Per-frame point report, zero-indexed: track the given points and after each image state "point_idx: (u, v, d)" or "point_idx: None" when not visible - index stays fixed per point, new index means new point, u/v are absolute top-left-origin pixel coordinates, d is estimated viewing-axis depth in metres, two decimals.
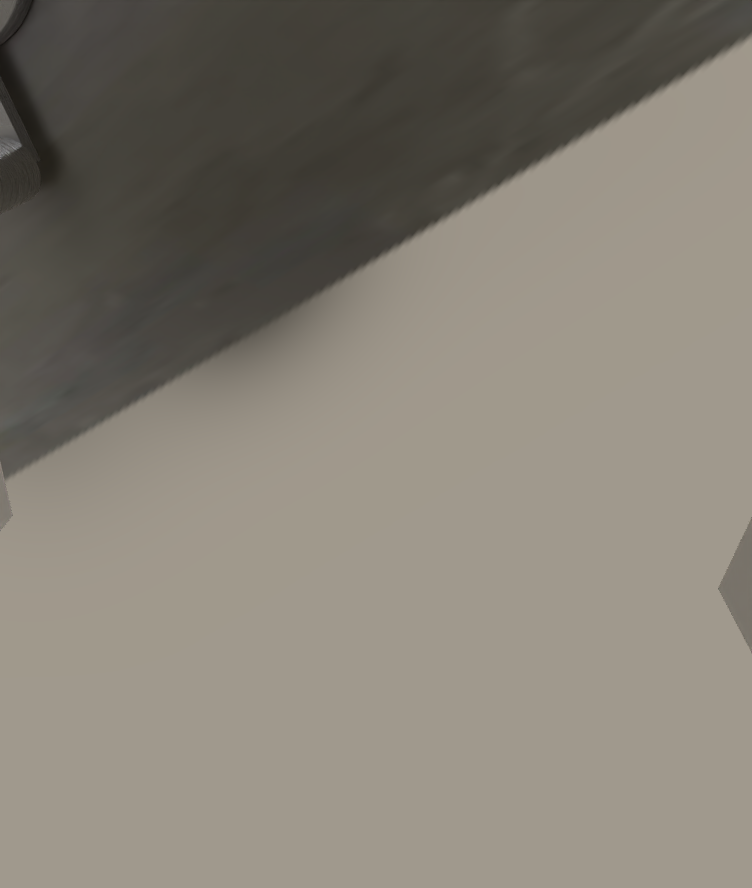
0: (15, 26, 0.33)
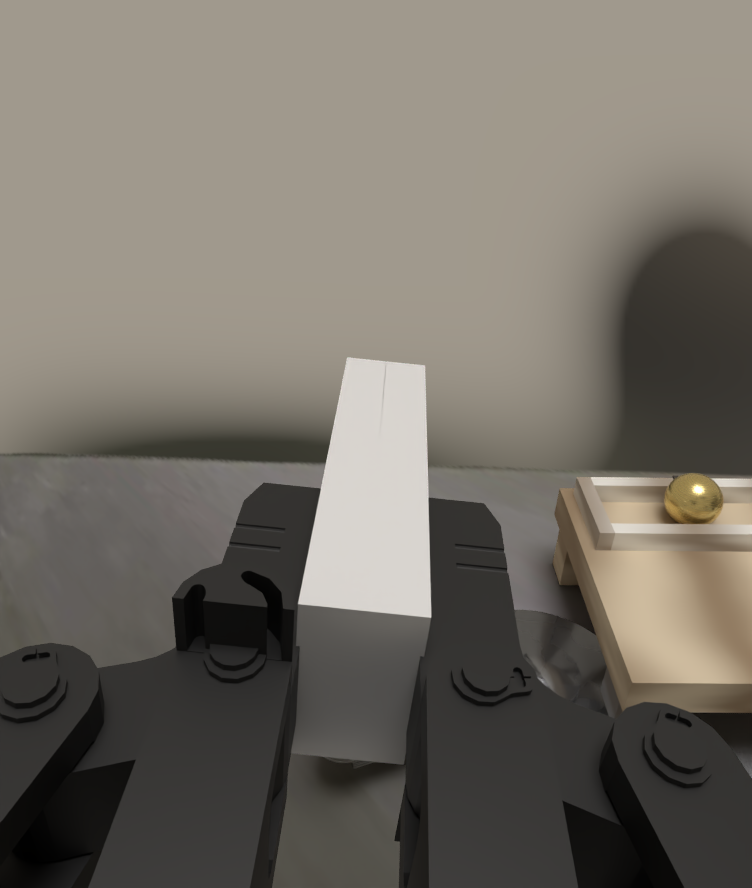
0: None
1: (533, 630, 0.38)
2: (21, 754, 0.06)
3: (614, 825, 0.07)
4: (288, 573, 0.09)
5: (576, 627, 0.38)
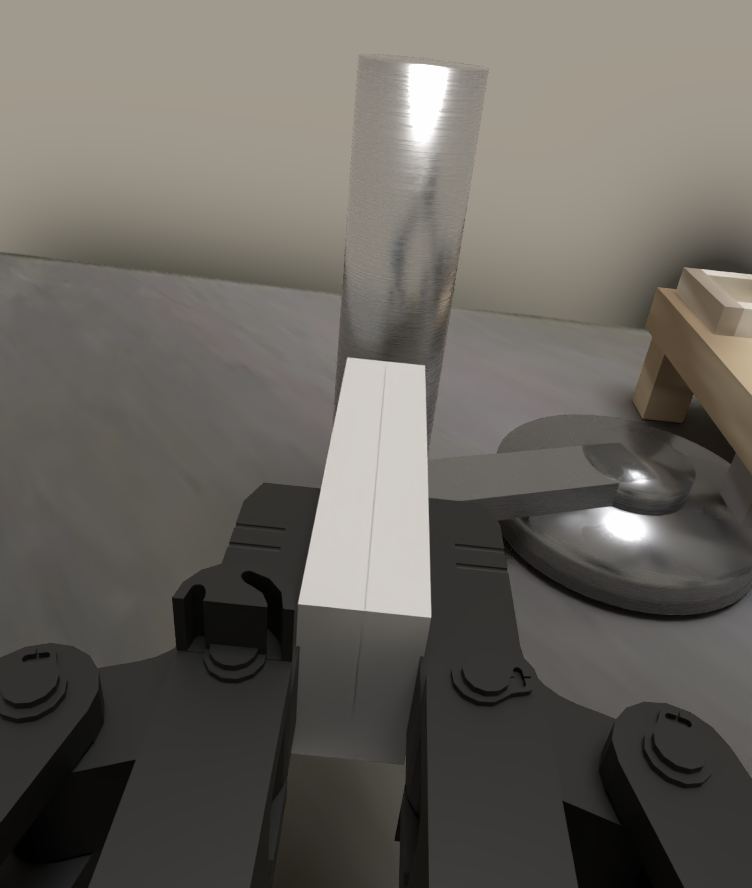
0: (547, 566, 0.23)
1: None
2: (21, 754, 0.06)
3: (615, 825, 0.07)
4: (288, 573, 0.09)
5: (677, 438, 0.29)
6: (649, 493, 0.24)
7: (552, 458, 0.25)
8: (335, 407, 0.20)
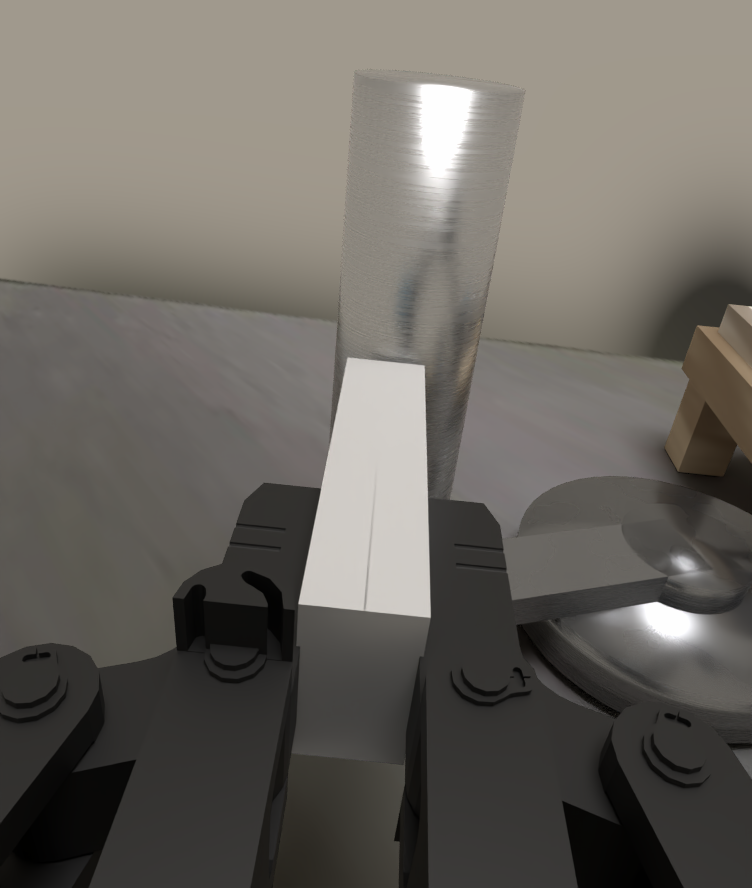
0: (581, 677, 0.20)
1: (662, 502, 0.25)
2: (21, 755, 0.06)
3: (614, 824, 0.07)
4: (288, 573, 0.09)
5: (727, 506, 0.25)
6: (704, 590, 0.20)
7: (586, 542, 0.21)
8: None
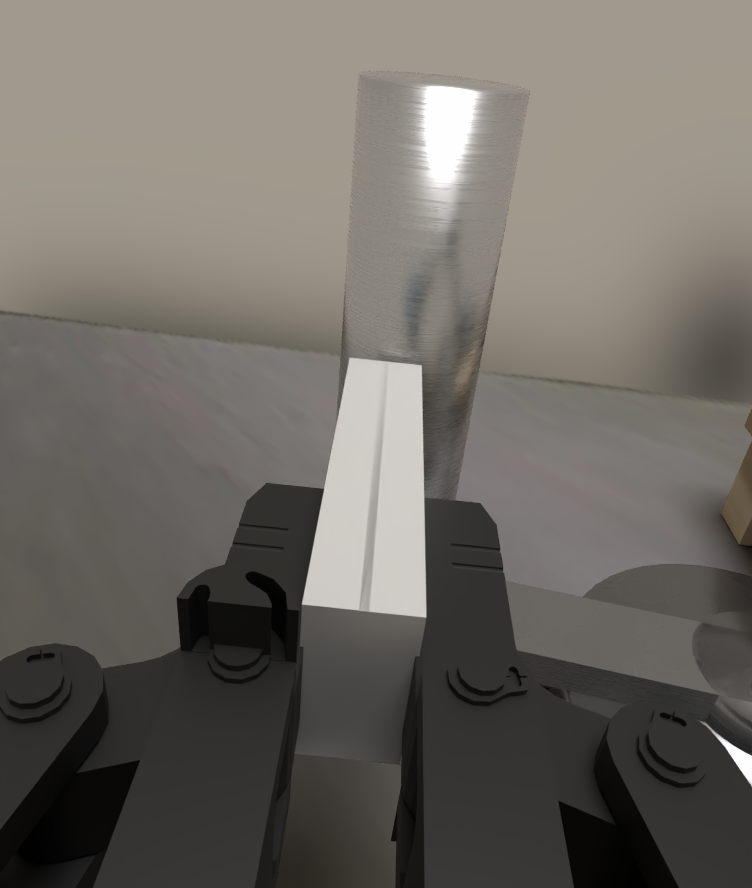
0: None
1: None
2: (25, 755, 0.06)
3: (609, 824, 0.07)
4: (292, 574, 0.09)
5: None
6: None
7: (640, 625, 0.18)
8: None
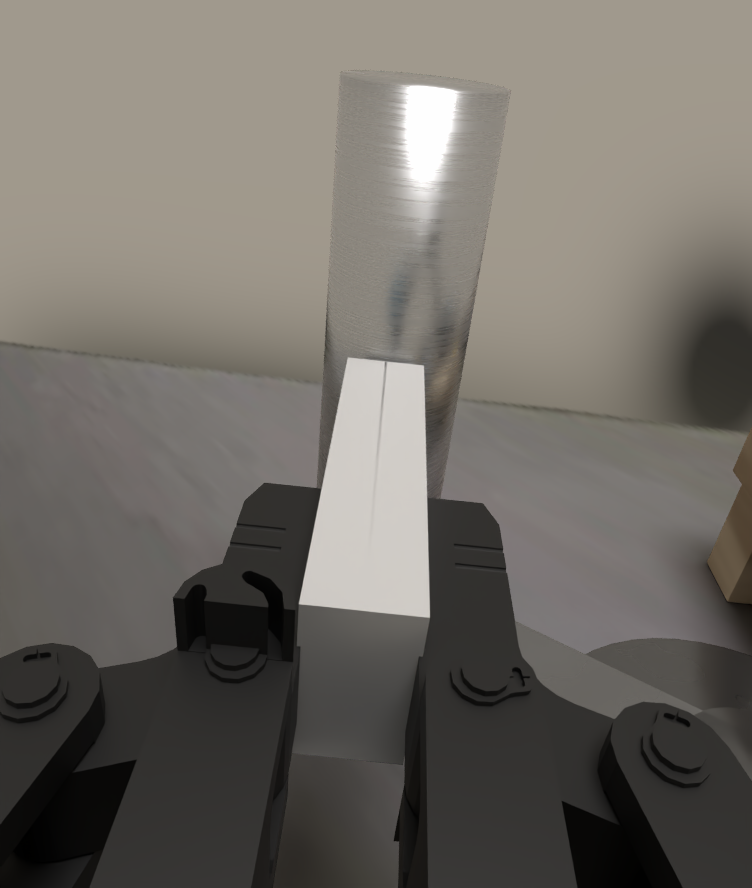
0: None
1: None
2: (21, 754, 0.06)
3: (613, 825, 0.07)
4: (289, 573, 0.09)
5: None
6: None
7: (626, 694, 0.16)
8: None
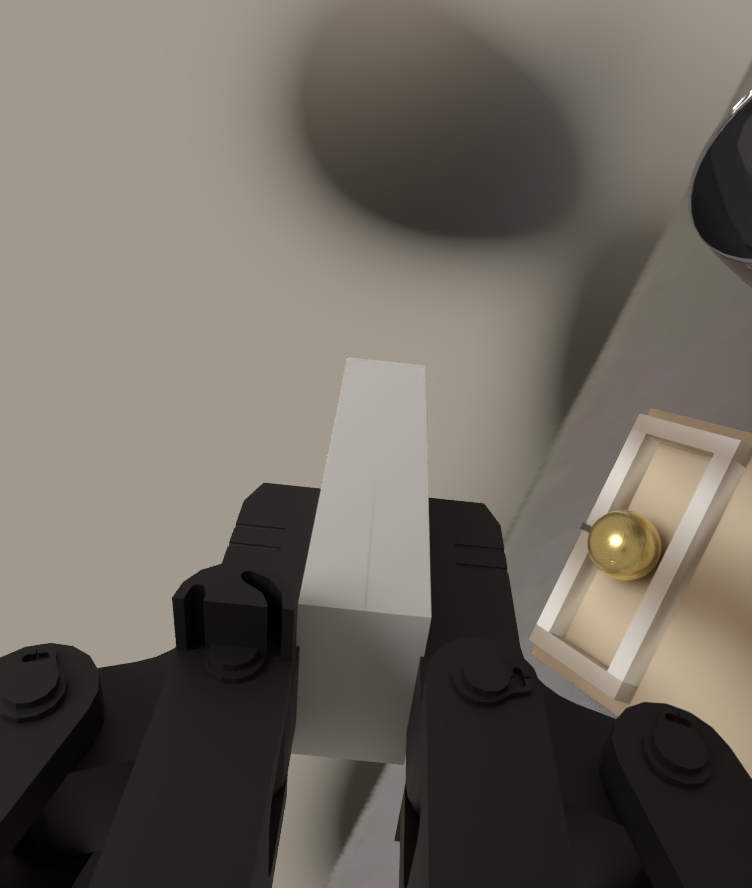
0: None
1: None
2: (20, 754, 0.06)
3: (614, 825, 0.07)
4: (288, 574, 0.09)
5: None
6: None
7: None
8: None
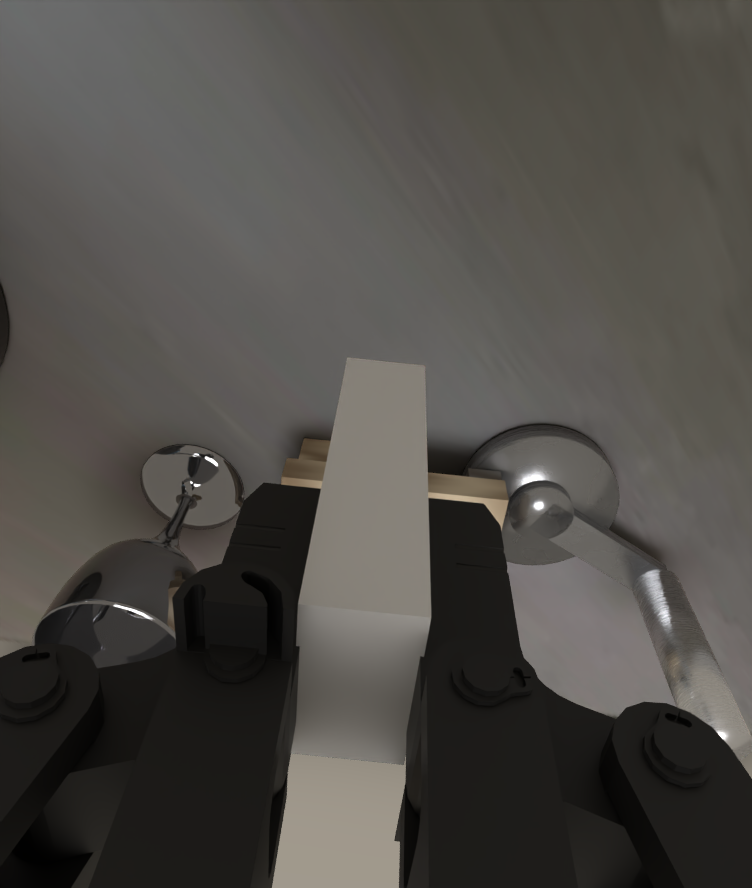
0: None
1: None
2: (21, 754, 0.06)
3: (615, 826, 0.07)
4: (288, 573, 0.09)
5: None
6: (570, 501, 0.43)
7: (573, 544, 0.45)
8: None
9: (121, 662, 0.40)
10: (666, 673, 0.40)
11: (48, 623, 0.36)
